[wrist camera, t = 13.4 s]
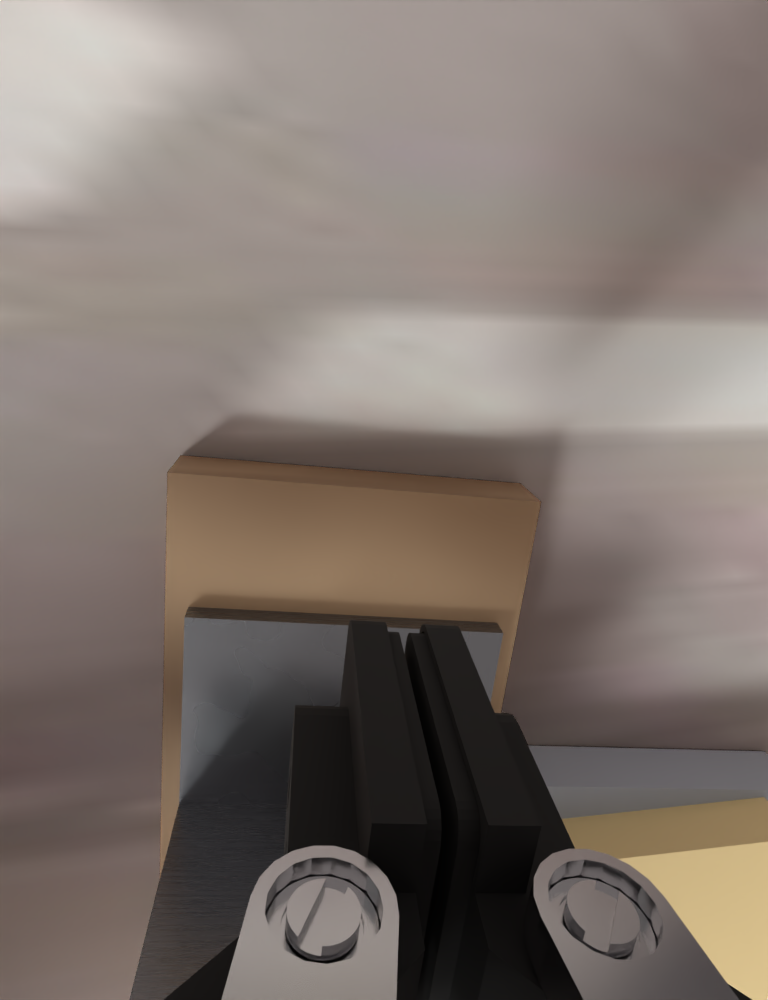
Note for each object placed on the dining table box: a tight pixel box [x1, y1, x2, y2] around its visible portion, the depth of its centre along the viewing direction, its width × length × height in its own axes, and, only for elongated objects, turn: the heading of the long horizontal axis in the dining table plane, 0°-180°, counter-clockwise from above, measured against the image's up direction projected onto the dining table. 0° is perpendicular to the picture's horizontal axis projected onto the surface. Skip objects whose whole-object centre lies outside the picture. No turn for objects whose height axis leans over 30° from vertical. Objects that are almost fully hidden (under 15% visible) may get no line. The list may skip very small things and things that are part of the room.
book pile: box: [529, 746, 768, 1000], centre depth 19 cm, size 13×9×3 cm
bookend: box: [130, 607, 503, 1000], centre depth 13 cm, size 6×7×6 cm
